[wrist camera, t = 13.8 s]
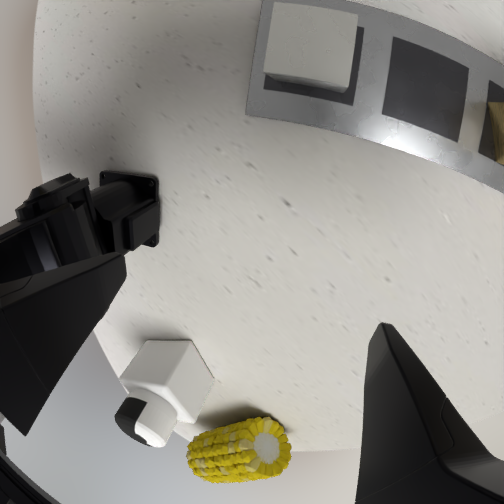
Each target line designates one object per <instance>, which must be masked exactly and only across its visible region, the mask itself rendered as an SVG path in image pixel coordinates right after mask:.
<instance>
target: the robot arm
mask: <svg viewBox="0 0 504 504" xmlns="http://www.w3.org/2000/svg"><path fill="white" fill-rule="evenodd" d="M104 175H105V177H104ZM151 181H152V182H153V185H152V184H151ZM158 184H159V183H158V180H157V178H156V177H152V176H145V175H138V174H131V173H123V172H116V171H108V170H104V171H102V172H101V173H100V187H98V188H96V189H94V190H92V191H90V190H89V186H88V185H89V180H88V178H84V179H81V180H80V178H75V177H74V176H73V175H72V174H71V173H69V174H66V175H63V176H61V177H58V178H56V179H53V180H51V181H49V182H46V183H44V184H42V185H40V186H38V187H36V188H34V189H32V191H31V193H30V196H29V198H28V199H27V200H26V201H24V202H23V204H22V205H21V206H19V207H18V208H17V209H15V211H16V215H17V218H16V219H14V220H12V221H11V222H9V223H7V224H5V225H3V226H1V227H0V423H1V422H2V421H3V419H4V418H5V417H6V418H7V420H9V422H11V423H12V425H14V426H15V427H16V428H17V429H18V430H19V431H20V432H21V433H22V434H23V435H24V436H26V435H27V434H28V432H29V430H30V428H31V427H32V425H33V423H34V421H35V420H36V418H37V416H38V414H39V412H40V410H41V409H42V407H43V406H44V404H45V402H46V401H47V399H48V397H49V396H50V394H51V392H52V390H53V389H54V387H55V386H56V384H57V382H58V381H59V379H60V378H61V376H62V375H63V373H64V371H65V370H66V368H67V367H68V365H69V363H70V362H71V361H72V359H73V358H74V356H75V355H76V353H77V352H78V350H79V349H80V347H81V346H82V344H83V343H84V342H85V340H86V339H87V337H88V336H89V334H90V333H91V332H92V330H93V329H94V327H95V326H96V325H97V323H98V322H99V321H100V320H101V319H102V318H103V316H104V315H105V313H106V312H107V311H108V309H109V306H110V304H111V303H112V301H113V299H114V298H115V296H116V294H117V293H118V291H119V289H120V288H121V286H122V284H123V283H124V281H125V279H126V276H127V272H126V263H125V257H124V255H125V254H126V253H128V252H129V251H134V250H135V249H136V248H138V247H139V246H140V245H141V244H142V245H146V246H149V247H155V246H157V245H158V242H159V237H158V231H159V203H158ZM152 240H153V241H154V243H153V242H152ZM355 501H356V502H355V504H504V461H503V460H500V459H498V458H496V457H494V456H493V455H492V454H491V453H490V452H489V451H488V450H487V449H486V447H485V446H484V445H483V444H482V442H481V441H480V440H479V438H478V437H477V436H476V435H475V433H474V432H473V431H472V430H471V429H470V427H469V426H468V425H467V423H466V422H465V421H464V419H463V418H462V417H461V416H460V414H459V413H458V411H457V410H456V409H455V407H454V406H453V405H452V403H451V402H450V400H449V399H448V398H447V397H446V395H445V393H444V392H443V390H442V389H441V388H440V386H439V385H438V384H437V382H436V381H435V379H434V378H433V377H432V375H431V374H430V373H429V371H428V370H427V369H426V367H425V366H424V365H423V363H422V362H421V361H420V359H419V358H418V357H417V355H416V354H415V353H414V352H413V350H412V349H411V348H410V346H409V345H408V344H407V343H406V341H405V340H404V339H403V337H402V336H401V335H400V334H399V332H398V331H397V330H396V329H395V327H394V326H393V325H392V324H388V323H383V322H382V323H380V324H379V325H378V327H377V329H376V330H375V332H374V334H373V336H372V338H371V340H370V342H369V346H368V357H367V366H366V375H365V384H364V411H363V431H362V446H361V458H360V468H359V477H358V485H357V492H356V499H355ZM0 504H60V503H59V502H58V501H57V500H55V499H54V498H53V497H51V496H50V495H49V494H48V493H46V492H45V491H44V490H43V489H41V488H40V487H39V486H38V485H37V484H36V483H34V482H33V481H32V480H31V479H30V478H29V477H28V476H27V475H25V474H24V473H23V472H22V471H21V470H20V469H19V468H18V467H17V466H16V465H15V464H14V463H13V462H12V461H10V459H9V458H8V457H7V456H6V446H5V436H4V427H3V426H2V425H1V424H0Z"/></svg>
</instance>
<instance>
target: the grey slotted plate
mask: <svg viewBox="0 0 504 504" xmlns="http://www.w3.org/2000/svg"><path fill="white" fill-rule="evenodd" d="M274 2H281V3H292V4H301V5H309V6H316V7H322V8H328V9H333V10H339V11H343V12H348V13H353V14H357V15H358V22H357V30H356V39H355V46H354V54H353V61H352V68H351V74H350V80H349V87H348V88H347V89H346V91H345V92H344V93H341V92H337V91H333V90H328V89H323V88H318V87H313V86H308V85H302V84H296V83H290V82H284V81H276V80H274V79H273V78H272V77H270V76H269V75H267V74H266V73H264V72H263V69H264V63H265V56H266V50H267V43H268V37H269V31H270V24H271V18H272V12H273V6H274ZM488 102H502V103H504V66H503V65H502V64H500V63H498V62H497V61H495V60H494V59H492V58H490V57H489V56H487V55H485V54H484V53H482V52H480V51H479V50H477V49H475V48H473V47H471V46H469V45H468V44H466V43H464V42H462V41H460V40H458V39H456V38H454V37H452V36H450V35H448V34H445V33H443V32H441V31H439V30H436V29H434V28H432V27H429V26H427V25H425V24H422V23H419V22H417V21H414V20H412V19H409V18H406V17H403V16H400V15H397V14H394V13H391V12H388V11H384V10H381V9H378V8H374V7H370V6H367V5H363V4H358V3H354V2H350V1H345V0H263V3H262V8H261V14H260V20H259V26H258V33H257V39H256V45H255V52H254V58H253V65H252V71H251V78H250V85H249V92H248V99H247V106H246V113H245V115H249V116H257V117H263V118H270V119H276V120H282V121H288V122H293V123H299V124H304V125H309V126H313V127H318V128H323V129H327V130H331V131H336V132H340V133H344V134H348V135H351V136H355V137H359V138H363V139H366V140H370V141H373V142H377V143H380V144H383V145H386V146H390V147H393V148H396V149H399V150H402V151H405V152H408V153H411V154H414V155H416V156H419V157H422V158H425V159H427V160H430V161H433V162H435V163H438V164H440V165H443V166H445V167H448V168H450V169H453V170H455V171H457V172H460V173H462V174H464V175H467V176H469V177H471V178H473V179H475V180H478V181H480V182H482V183H484V184H486V185H488V186H490V187H492V188H494V189H496V190H498V191H500V192H502V193H504V165H503V164H500V163H498V162H496V157H495V147H494V138H493V131H492V124H491V118H490V112H489V107H488Z"/></svg>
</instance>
